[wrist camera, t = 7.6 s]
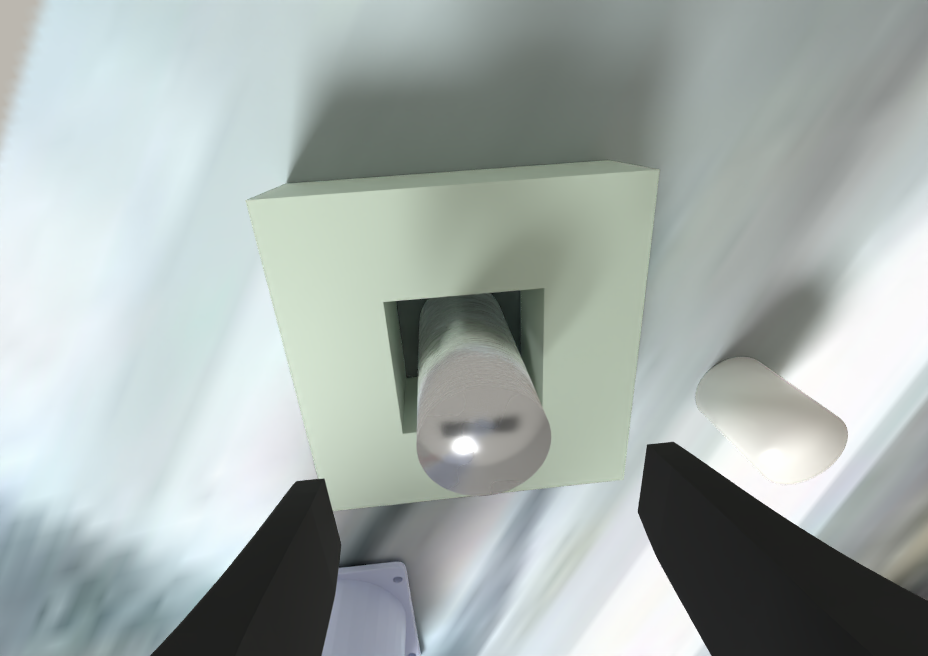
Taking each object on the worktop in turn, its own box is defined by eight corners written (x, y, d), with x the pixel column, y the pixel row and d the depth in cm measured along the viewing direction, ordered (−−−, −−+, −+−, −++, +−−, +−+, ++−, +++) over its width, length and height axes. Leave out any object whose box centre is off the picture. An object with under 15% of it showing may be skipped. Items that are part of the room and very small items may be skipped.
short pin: (758, 415, 23) (832, 479, 18) (689, 422, 22) (749, 489, 18) (775, 353, 21) (859, 408, 17) (701, 360, 21) (769, 417, 17)
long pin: (508, 351, 20) (557, 481, 13) (429, 367, 20) (432, 506, 13) (495, 275, 18) (543, 373, 11) (410, 293, 18) (402, 403, 11)
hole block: (590, 420, 22) (623, 479, 18) (343, 445, 21) (326, 511, 18) (608, 160, 17) (659, 169, 13) (285, 183, 16) (245, 200, 12)
